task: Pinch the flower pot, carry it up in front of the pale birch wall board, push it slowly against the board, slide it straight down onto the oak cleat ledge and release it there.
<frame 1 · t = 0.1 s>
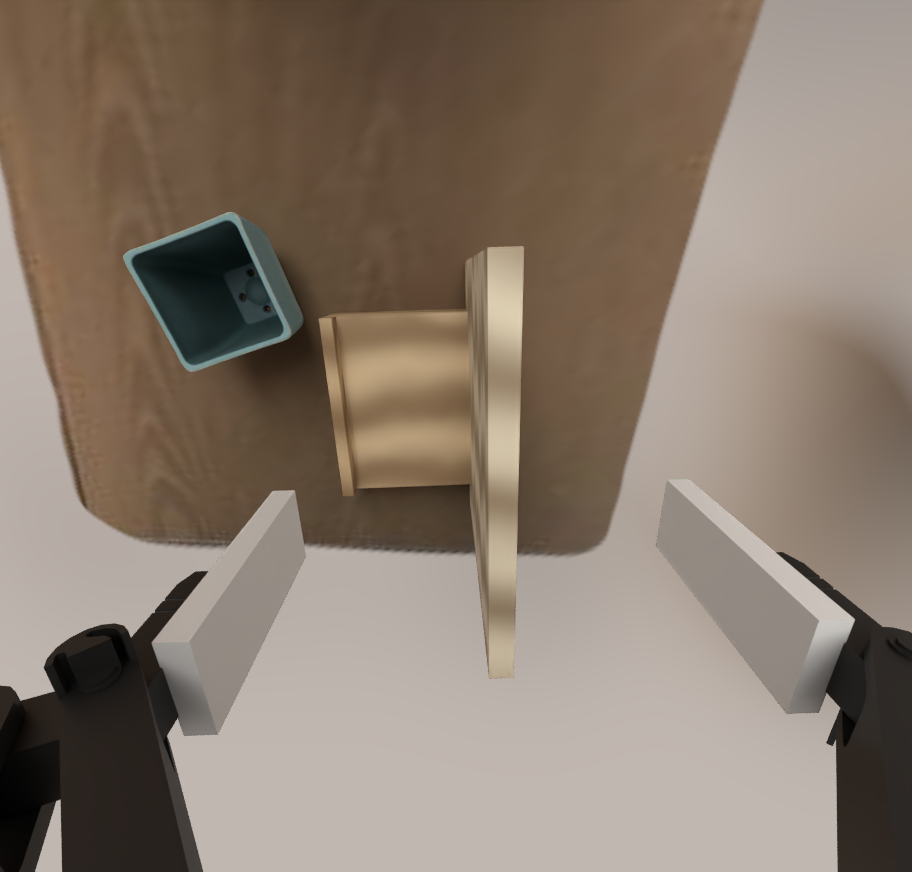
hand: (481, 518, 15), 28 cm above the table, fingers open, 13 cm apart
flower pot: (260, 292, 39), on the table
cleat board: (406, 395, 42), on the table
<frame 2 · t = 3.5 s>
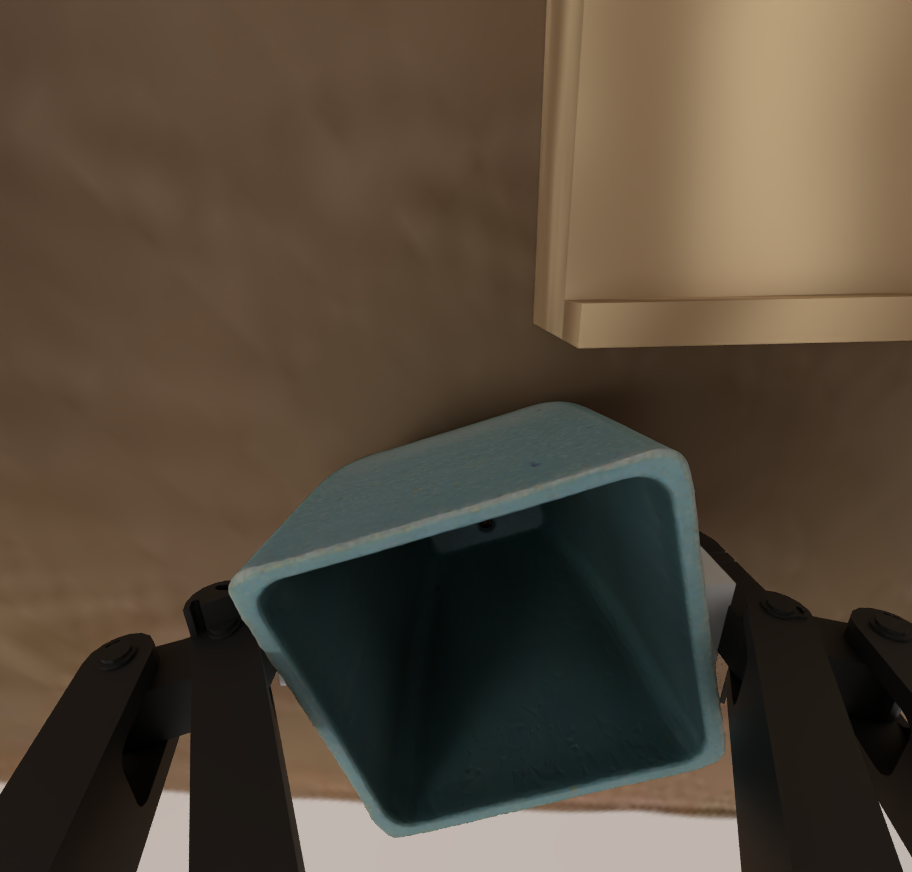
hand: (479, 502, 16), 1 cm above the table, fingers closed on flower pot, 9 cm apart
flower pot: (476, 486, 18), on the table, touching gripper
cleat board: (801, 116, 13), on the table
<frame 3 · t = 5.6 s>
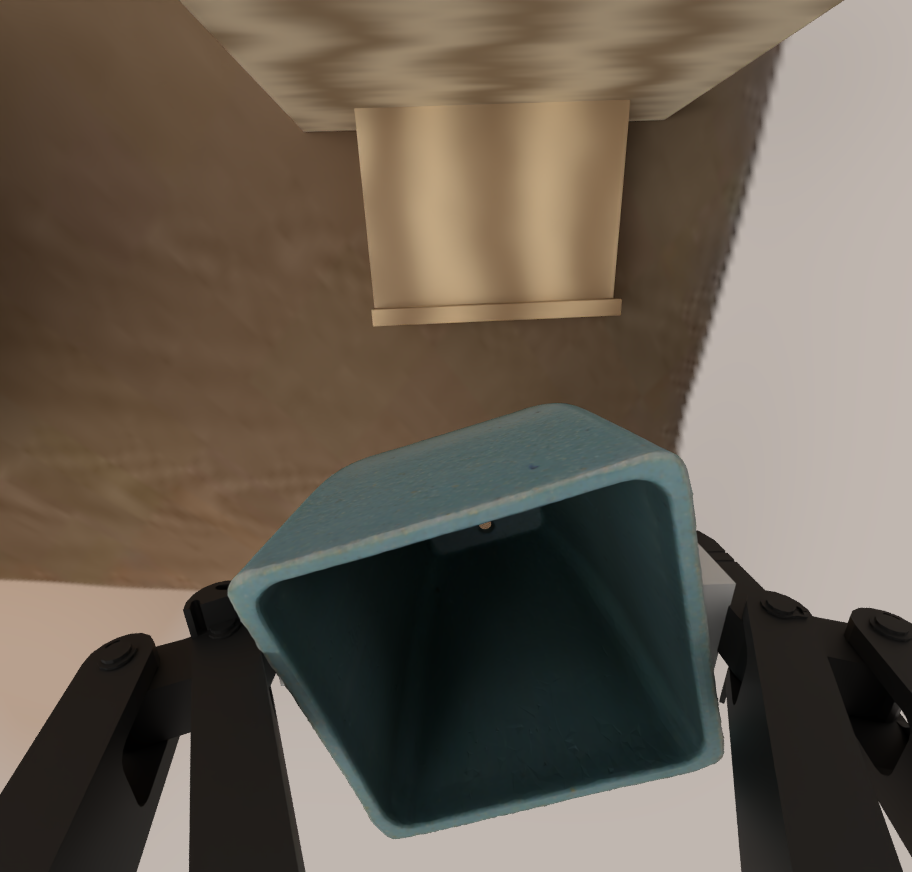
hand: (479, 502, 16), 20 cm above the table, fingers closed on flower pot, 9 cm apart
flower pot: (475, 487, 18), point 18 cm above the table, touching gripper
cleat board: (487, 225, 31), on the table
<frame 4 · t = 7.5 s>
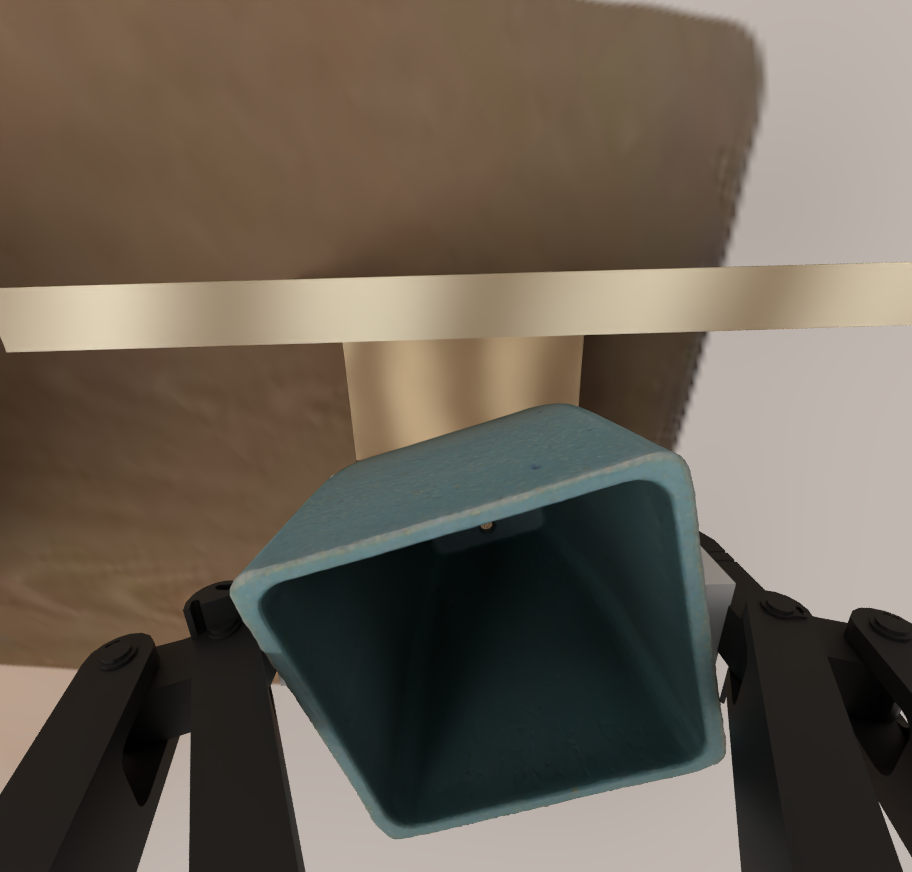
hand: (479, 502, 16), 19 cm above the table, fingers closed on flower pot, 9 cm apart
flower pot: (476, 488, 18), point 17 cm above the table, touching gripper
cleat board: (462, 377, 34), on the table
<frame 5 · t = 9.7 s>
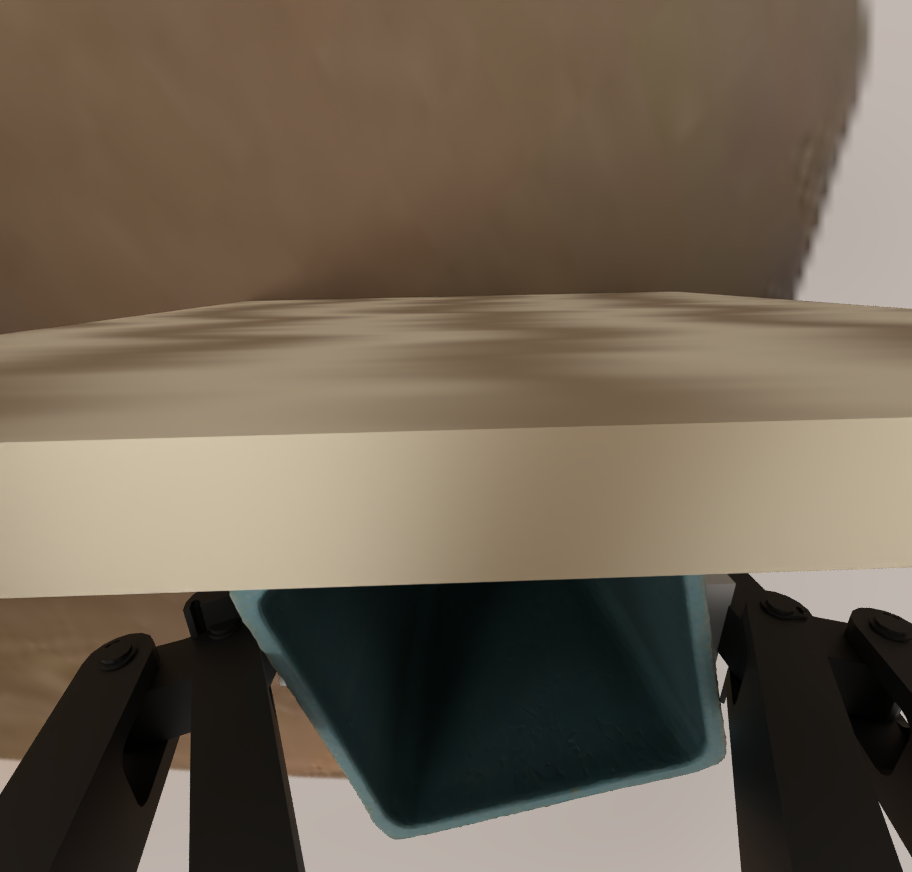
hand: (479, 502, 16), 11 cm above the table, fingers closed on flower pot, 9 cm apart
flower pot: (477, 488, 18), point 9 cm above the table, touching gripper
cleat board: (465, 423, 27), on the table
when the fingers open (7 cm above the table, at t = 11.7 s): flower pot drops 1 cm, resting on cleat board.
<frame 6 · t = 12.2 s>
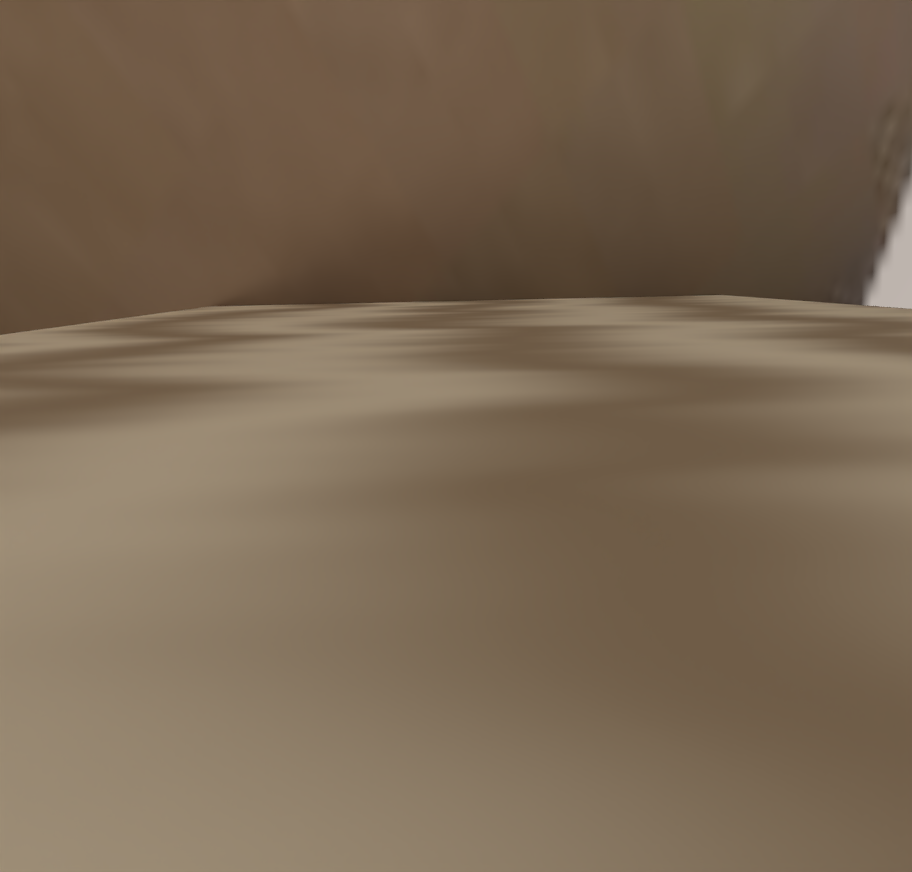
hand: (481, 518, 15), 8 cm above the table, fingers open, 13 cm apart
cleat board: (470, 449, 23), on the table
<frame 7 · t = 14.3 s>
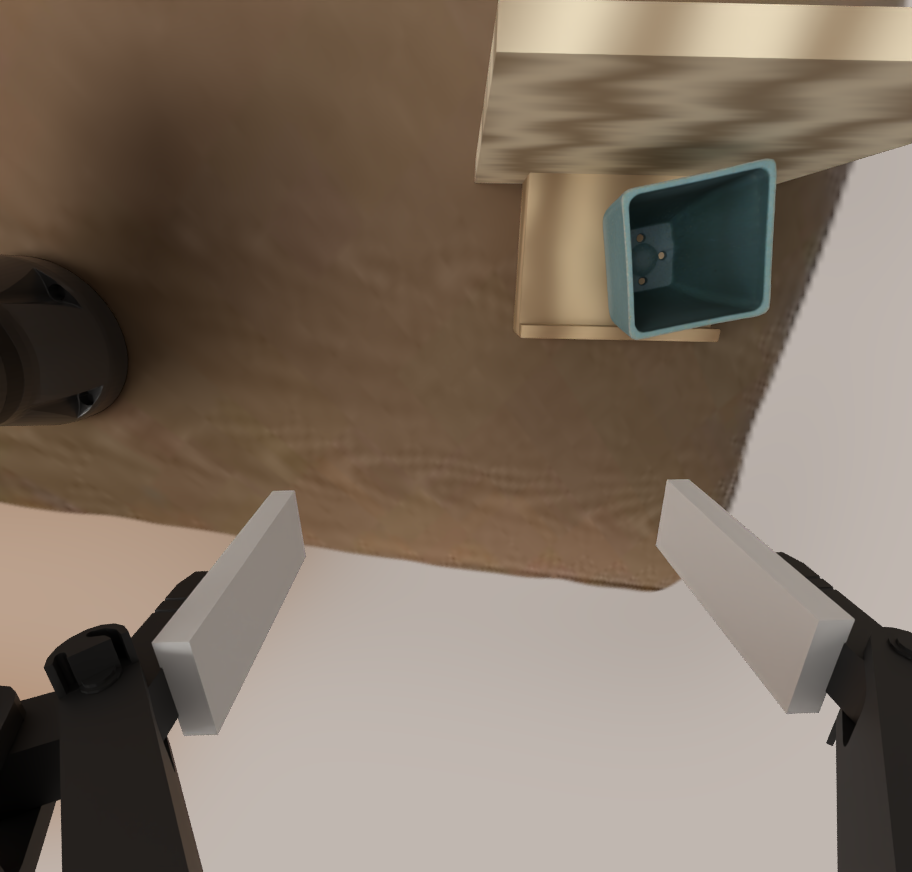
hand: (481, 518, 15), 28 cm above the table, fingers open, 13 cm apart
flower pot: (639, 261, 35), point 4 cm above the table, touching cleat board
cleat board: (607, 263, 38), on the table
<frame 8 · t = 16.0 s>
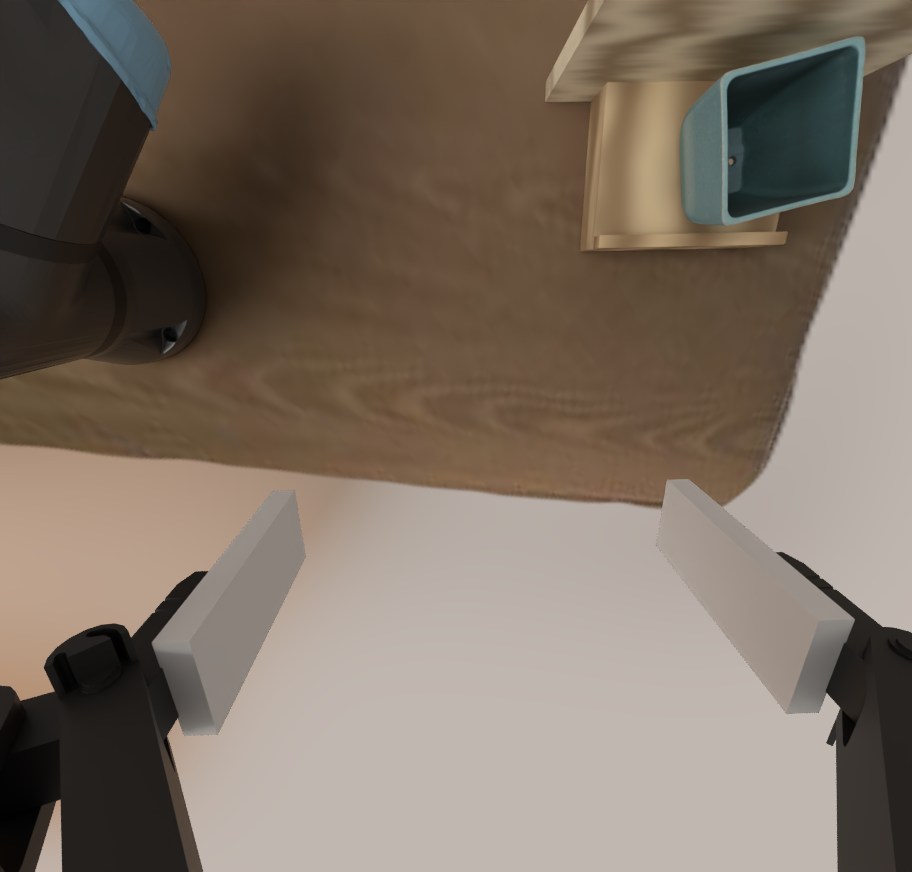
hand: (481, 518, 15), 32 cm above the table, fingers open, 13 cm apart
flower pot: (709, 168, 36), point 4 cm above the table, touching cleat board
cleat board: (671, 178, 40), on the table
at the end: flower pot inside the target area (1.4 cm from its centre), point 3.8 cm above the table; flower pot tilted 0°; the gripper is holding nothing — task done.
